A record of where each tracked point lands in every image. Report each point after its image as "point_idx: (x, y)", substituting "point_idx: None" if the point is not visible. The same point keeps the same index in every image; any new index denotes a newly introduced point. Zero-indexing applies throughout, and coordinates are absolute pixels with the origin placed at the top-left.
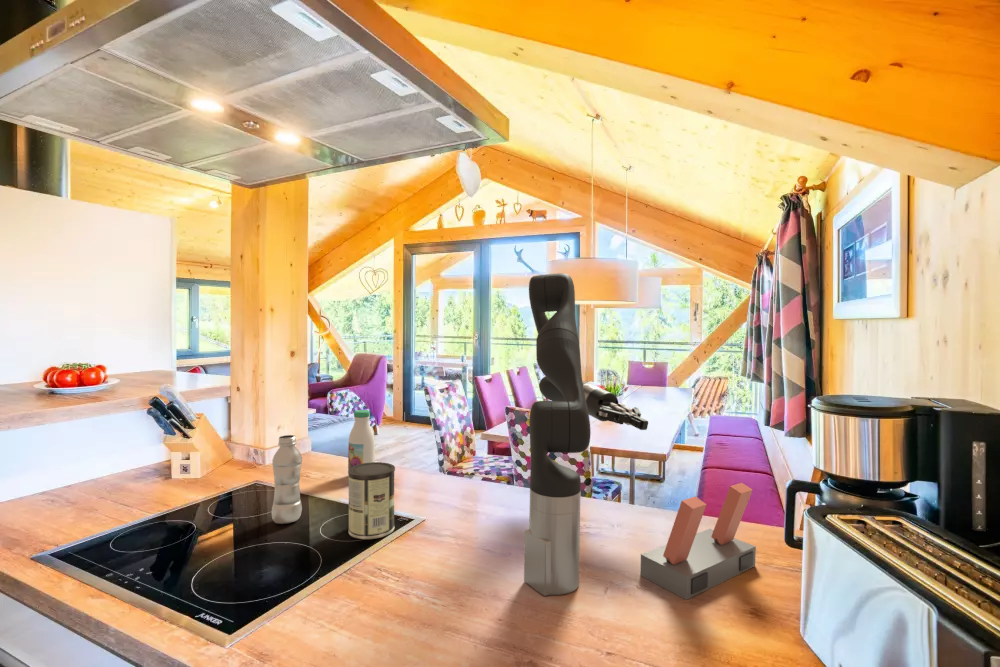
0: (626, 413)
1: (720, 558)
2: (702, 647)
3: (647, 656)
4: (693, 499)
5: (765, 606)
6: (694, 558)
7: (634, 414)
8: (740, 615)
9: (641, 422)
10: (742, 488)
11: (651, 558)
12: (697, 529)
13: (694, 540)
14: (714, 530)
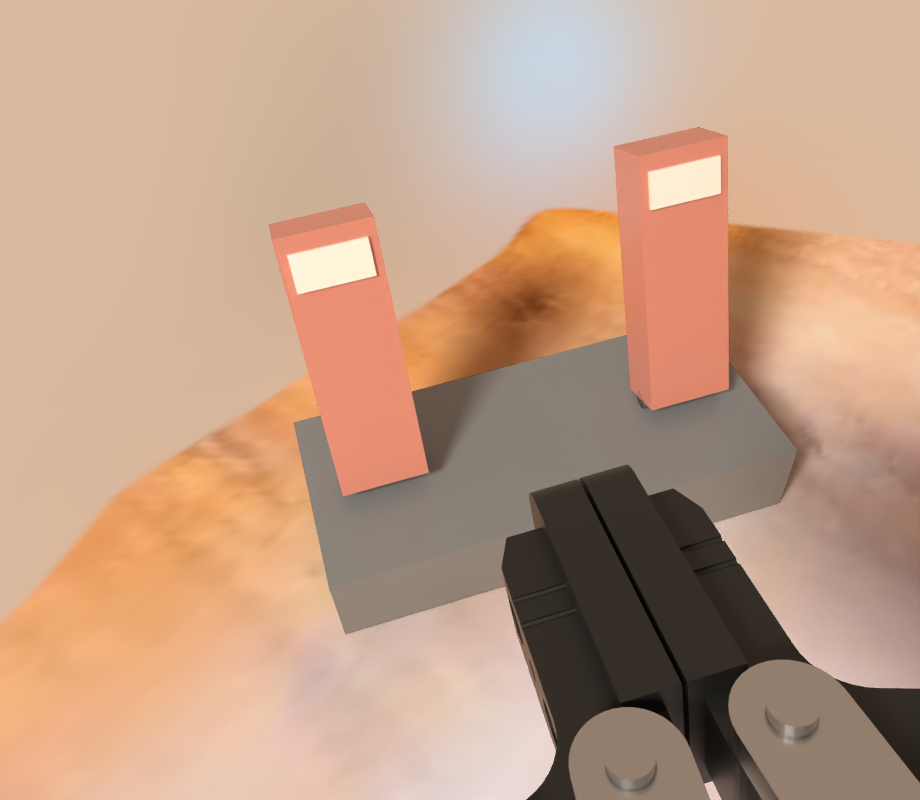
0: (883, 763)
1: (500, 380)
2: (745, 246)
3: (887, 243)
4: (661, 147)
5: (480, 319)
6: (596, 393)
7: (659, 746)
8: (576, 304)
9: (649, 497)
10: (319, 218)
11: (765, 419)
12: (622, 264)
13: (495, 503)
14: (420, 439)
